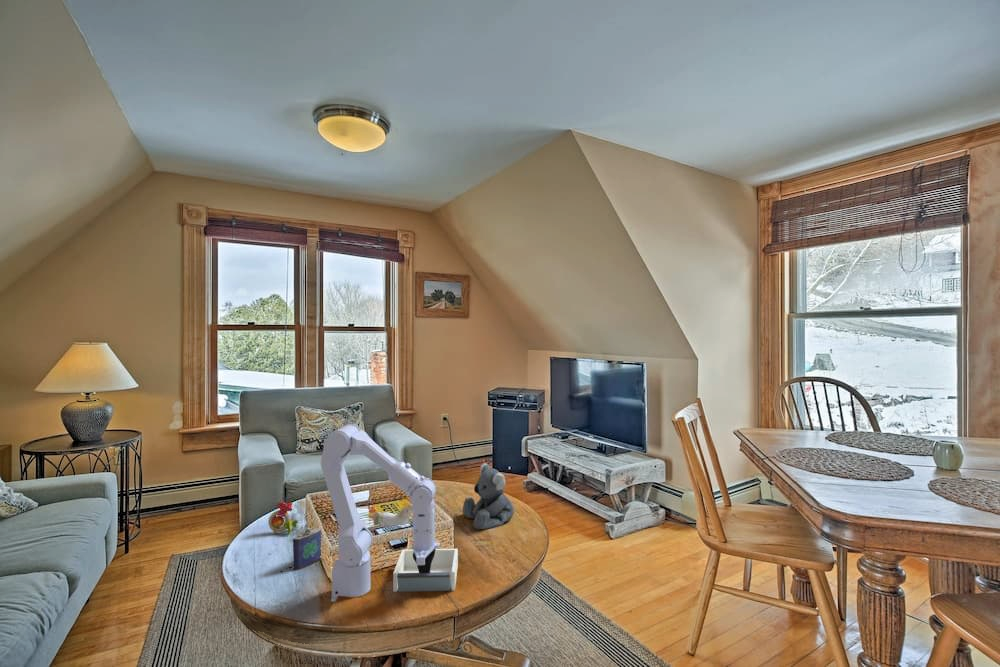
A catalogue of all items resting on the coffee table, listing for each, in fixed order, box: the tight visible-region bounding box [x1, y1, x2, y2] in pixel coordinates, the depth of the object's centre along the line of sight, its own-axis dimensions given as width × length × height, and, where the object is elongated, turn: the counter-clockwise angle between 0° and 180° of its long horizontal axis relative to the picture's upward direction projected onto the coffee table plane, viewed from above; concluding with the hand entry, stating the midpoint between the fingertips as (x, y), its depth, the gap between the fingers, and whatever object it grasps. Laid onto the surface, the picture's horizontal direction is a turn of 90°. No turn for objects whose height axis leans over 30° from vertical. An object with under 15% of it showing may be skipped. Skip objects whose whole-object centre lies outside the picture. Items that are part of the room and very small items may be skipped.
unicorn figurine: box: [372, 503, 413, 526], centre depth 153 cm, size 7×20×13 cm, turn 86°
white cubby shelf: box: [392, 548, 459, 593], centre depth 129 cm, size 16×13×6 cm
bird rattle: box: [268, 501, 299, 535], centre depth 161 cm, size 6×11×9 cm
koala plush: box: [462, 462, 515, 530], centre depth 172 cm, size 17×18×20 cm
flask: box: [292, 526, 322, 571], centre depth 140 cm, size 9×3×11 cm, turn 148°
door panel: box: [397, 572, 451, 593], centre depth 122 cm, size 14×1×5 cm, turn 92°
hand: (424, 579), depth 123 cm, fingers closed, pressing on door panel
